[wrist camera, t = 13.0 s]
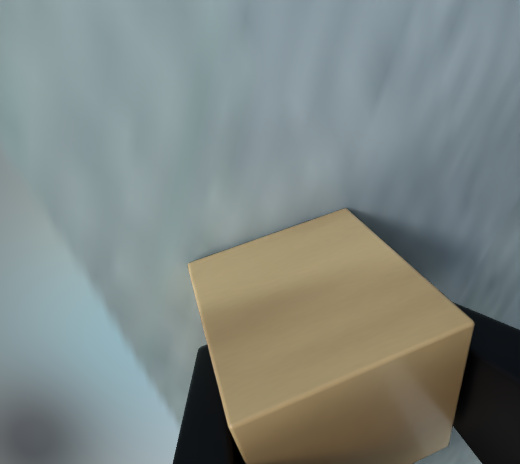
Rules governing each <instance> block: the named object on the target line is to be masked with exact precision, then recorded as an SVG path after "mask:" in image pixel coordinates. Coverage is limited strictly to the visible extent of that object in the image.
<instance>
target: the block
mask: <svg viewBox="0 0 520 464" xmlns="http://www.w3.org/2000/svg"><path fill="white" fill-rule="evenodd" d="M188 270H189V273H190V277H191V281H192V285H193V289H194V293H195V297H196V301H197V305H198V309H199V313H200V317H201V321H202V325H203V329H204V333H205V337H206V341H207V345H208V349H209V353H210V357H211V361H212V365H213V369H214V373H215V377H216V381H217V384H218V388H219V392H220V396H221V400H222V404H223V408H224V412H225V416H226V420H227V424H228V428H229V430H230V432H231V434H232V436H233V438H234V440H235V442H236V445H237V447H238V449H239V451H240V453H241V455H242V457H243V459H244V462H245V464H413V463H415V462H417V461H419V460H421V459H423V458H425V457H427V456H429V455H431V454H433V453H435V452H437V451H439V450H441V449H443V448H446V447H447V446H448V445H449V441H450V436H451V432H452V427H453V423H454V418H455V413H456V409H457V404H458V399H459V395H460V390H461V385H462V381H463V376H464V371H465V367H466V362H467V357H468V353H469V348H470V344H471V339H472V334H473V330H474V325H475V324H474V322H473V320H472V319H471V318H470V317H469V316H467V315H466V314H465V313H464V312H463V311H462V310H461V309H460V308H458V307H457V306H456V305H455V304H454V303H453V302H452V301H451V300H449V299H448V298H447V297H446V296H445V295H444V294H443V293H441V292H440V291H439V290H438V289H437V288H436V287H435V286H434V285H432V284H431V283H430V282H429V281H428V280H427V279H426V278H425V277H423V276H422V275H421V274H420V273H419V272H418V271H417V270H416V269H414V268H413V267H412V266H411V265H410V264H409V263H408V262H407V261H405V260H404V259H403V258H402V257H401V256H400V255H399V254H398V253H396V252H395V251H394V250H393V249H392V248H391V247H390V246H388V245H387V244H386V243H385V242H384V241H383V240H382V239H381V238H379V237H378V236H377V235H376V234H375V233H374V232H373V231H372V230H370V229H369V228H368V227H367V226H366V225H365V224H364V223H363V222H361V221H360V220H359V219H358V218H357V217H356V216H355V215H354V214H352V213H351V212H350V211H349V210H348V209H346V208H344V209H341V210H338V211H335V212H333V213H330V214H327V215H324V216H321V217H318V218H315V219H313V220H310V221H307V222H304V223H301V224H298V225H295V226H293V227H290V228H287V229H284V230H281V231H278V232H276V233H273V234H270V235H267V236H264V237H261V238H258V239H256V240H253V241H250V242H247V243H244V244H241V245H238V246H236V247H233V248H230V249H227V250H224V251H221V252H218V253H216V254H213V255H210V256H207V257H204V258H201V259H199V260H196V261H193V262H190V263H189V264H188Z"/></svg>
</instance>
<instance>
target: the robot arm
mask: <svg viewBox="0 0 520 464" xmlns="http://www.w3.org/2000/svg"><path fill="white" fill-rule="evenodd" d="M454 304H455V305H456V306H457V307H458V308H460V309H461V310H462V311H463V312H464V313H465V314H466V315H467V316H469V317H470V318H471V319H472V320H473V322H474V324H475V325H474V330H473V334H472V339H471V344H470V348H469V353H468V357H467V362H466V367H465V371H464V376H463V381H462V385H461V390H460V395H459V399H458V404H457V409H456V413H455V418H454V423H453V426H454V428H455V429H456V430H457V432H458V433H459V434H460V435H461V437H462V438H463V439H464V441H465V442H466V443H467V445H468V446H469V447H470V448H471V450H472V451H473V452H474V454H475V455H476V456H477V457H478V459H479V460H480V461H481V463H482V464H520V330H519V329H516V328H514V327H511V326H509V325H507V324H504V323H502V322H499V321H497V320H494V319H492V318H490V317H487V316H485V315H482V314H480V313H477V312H475V311H473V310H470V309H468V308H465V307H463V306H461V305H458V304H456V303H454ZM173 464H245V462H244V459H243V457H242V455H241V453H240V451H239V449H238V447H237V445H236V442H235V440H234V438H233V436H232V434H231V432H230V430H229V428H228V424H227V420H226V416H225V412H224V408H223V404H222V400H221V396H220V392H219V388H218V384H217V381H216V377H215V373H214V369H213V365H212V361H211V357H210V353H209V349H208V345H204V346H202V347H200V348H199V350H198V353H197V357H196V362H195V366H194V371H193V375H192V380H191V384H190V389H189V393H188V398H187V402H186V407H185V411H184V416H183V420H182V424H181V429H180V433H179V438H178V442H177V447H176V452H175V456H174V460H173Z"/></svg>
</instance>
